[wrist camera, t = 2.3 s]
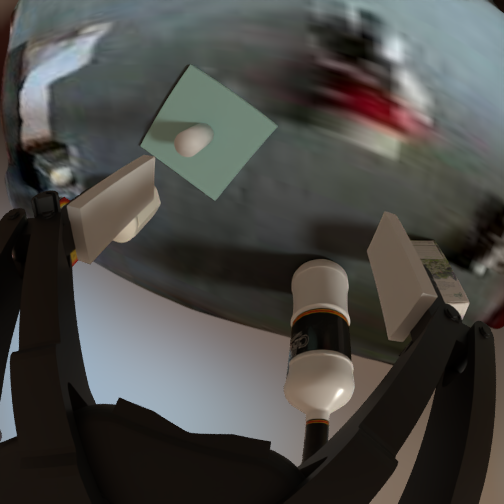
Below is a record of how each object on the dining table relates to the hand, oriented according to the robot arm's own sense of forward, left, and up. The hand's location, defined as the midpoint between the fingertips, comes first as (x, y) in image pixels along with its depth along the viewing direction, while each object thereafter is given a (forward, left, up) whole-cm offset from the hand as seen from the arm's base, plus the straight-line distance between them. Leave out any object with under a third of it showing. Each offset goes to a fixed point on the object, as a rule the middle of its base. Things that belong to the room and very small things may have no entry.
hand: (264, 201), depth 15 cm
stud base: (-8, -7, -22) cm, 25 cm away
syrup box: (+28, +1, -22) cm, 36 cm away
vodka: (+20, -14, -22) cm, 33 cm away
